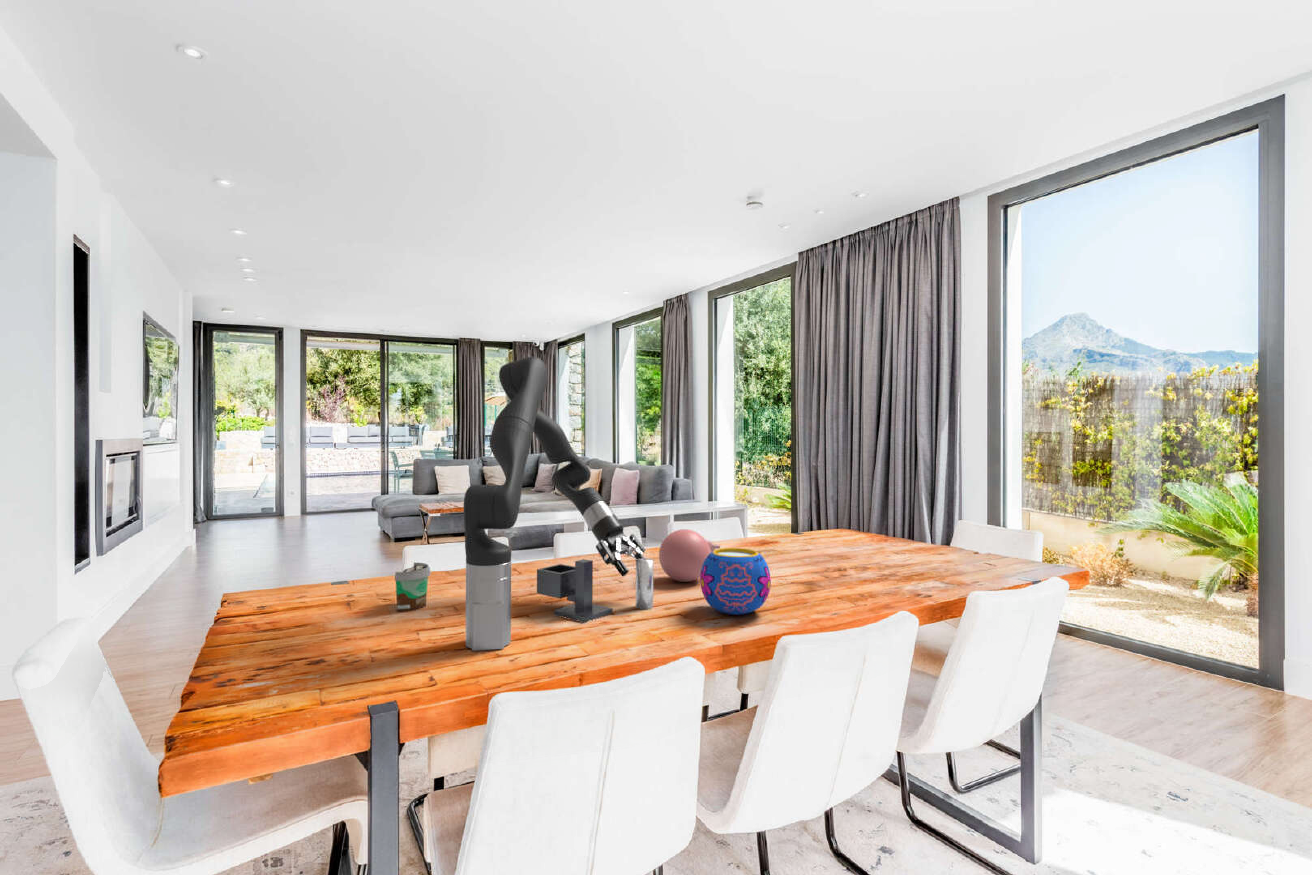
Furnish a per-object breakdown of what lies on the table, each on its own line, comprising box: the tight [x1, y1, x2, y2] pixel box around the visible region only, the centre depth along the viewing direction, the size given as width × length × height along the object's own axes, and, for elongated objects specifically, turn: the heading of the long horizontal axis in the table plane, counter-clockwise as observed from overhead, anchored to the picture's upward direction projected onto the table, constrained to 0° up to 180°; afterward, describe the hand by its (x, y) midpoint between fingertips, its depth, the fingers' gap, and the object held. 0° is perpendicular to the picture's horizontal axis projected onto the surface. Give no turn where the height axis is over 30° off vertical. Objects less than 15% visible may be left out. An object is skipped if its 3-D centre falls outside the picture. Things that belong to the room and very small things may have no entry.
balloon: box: [658, 529, 721, 583], centre depth 192 cm, size 15×20×15 cm
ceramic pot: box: [699, 547, 772, 616], centre depth 159 cm, size 18×18×15 cm
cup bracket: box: [536, 558, 614, 623], centre depth 158 cm, size 17×10×13 cm, turn 54°
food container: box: [394, 562, 432, 613], centre depth 162 cm, size 12×6×10 cm, turn 179°
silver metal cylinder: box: [635, 557, 654, 610], centre depth 163 cm, size 4×4×12 cm
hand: (636, 571), depth 165 cm, fingers open, 8 cm apart
